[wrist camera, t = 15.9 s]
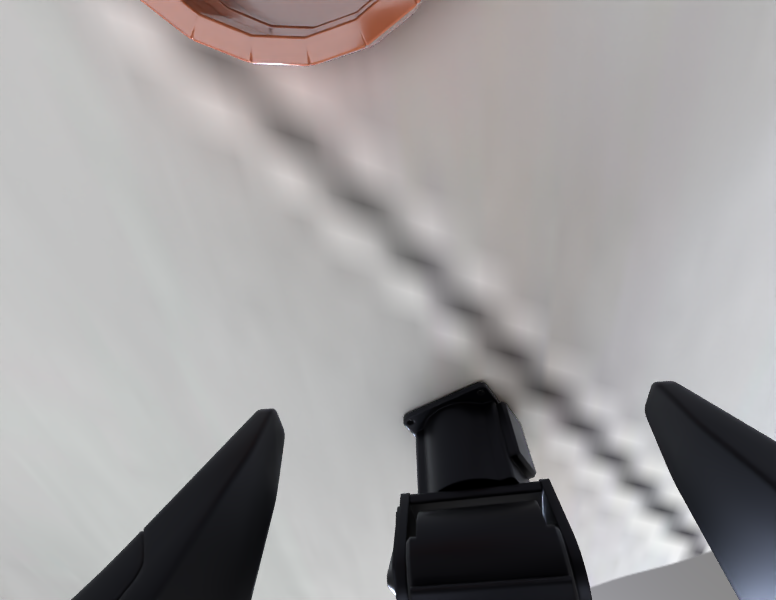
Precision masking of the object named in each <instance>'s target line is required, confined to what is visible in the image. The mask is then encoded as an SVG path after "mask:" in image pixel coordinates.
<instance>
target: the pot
mask: <svg viewBox="0 0 776 600" xmlns="http://www.w3.org/2000/svg"><path fill="white" fill-rule="evenodd" d="M140 1H142V2H143V3H144V4H146V5H147V6H148V7H149V8H151V9H152V10H153V11H155V12H156V13H157V14H158V15H160V16H161V17H162V18H164V19H165V20H166V21H167V22H169V23H170V24H171V25H173V26H174V27H175V28H177V29H178V30H179V31H180V32H182V33H183V34H184V35H186V36H187V37H188V38H189V39H193V40H194V41H195V42H198V43H200V44H203V45H205V46H208V47H210V48H213V49H215V50H218V51H220V52H223V53H226V54H228V55H231V56H233V57H236V58H238V59H241V60H243V61H246V62H248V63H253V64H265V65H290V66H311V65H317V64H320V63H324V62H328V61H331V60H334V59H337V58H340V57H343V56H346V55H349V54H352V53H355V52H358V51H361V50H363V49H366V48H369V47H372V46H374V45H376V44H377V43H378V42H379V41H381V40H382V39H383V38H384V37H386V36H387V35H388V34H389V33H391V32H392V31H393V30H394V29H395V28H397V27H398V26H399V25H400V24H402V23H403V22H404V21H405V20H407V19H408V18H409V17H410V16H411V15H413V13H414V12H415V11H416V10H417V8H418V7H419V5H420V4H421V2H422V1H423V0H140Z"/></svg>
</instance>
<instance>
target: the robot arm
mask: <svg viewBox="0 0 776 600" xmlns="http://www.w3.org/2000/svg"><path fill="white" fill-rule="evenodd" d="M481 389H482V390H481ZM479 390H480V391H479ZM645 414H646V417H647V420H648V422H649V425H650V427H651V429H652V432H653V434H654V436H655V439H656V441H657V444H658V446H659V448H660V451H661V453H662V455H663V458H664V460H665V463H666V465H667V467H668V470H669V472H670V474H671V476H672V478H673V480H674V482H675V484H676V486H677V488H678V490H679V492H680V494H681V495H682V497H683V499H684V501H685V503H686V504H687V506H688V508H689V510H690V512H691V513H692V515H693V517H694V519H695V521H696V523H697V524H698V526H699V528H700V530H701V532H702V533H703V535H704V537H705V539H706V541H707V542H708V544H709V546H710V548H711V550H712V552H713V553H714V555H715V557H716V559H717V561H718V562H719V564H720V566H721V568H722V570H723V571H724V573H725V575H726V577H727V578H728V580H729V582H730V584H731V586H732V587H733V590H734V591H735V593H736V595H737V597H738V599H739V600H776V441H774V440H772V439H771V438H769V437H767V436H766V435H764V434H762V433H761V432H759V431H757V430H756V429H754V428H752V427H751V426H749V425H747V424H745V423H744V422H742V421H740V420H739V419H737V418H735V417H734V416H732V415H730V414H729V413H727V412H725V411H724V410H722V409H720V408H719V407H717V406H715V405H713V404H712V403H710V402H708V401H707V400H705V399H703V398H702V397H700V396H698V395H697V394H695V393H693V392H692V391H690V390H688V389H686V388H685V387H683V386H681V385H680V384H678V383H676V382H673V381H664V382H655V383H653V384H652V386H651V389H650V392H649V395H648V398H647V402H646V405H645ZM410 420H411V421H410ZM404 425H405V426H406V427H407V428H408V429H409V430H410V431H411V432H412V433H413V435H414V436H415V437H416V456H417V480H418V494H411V495H410V493H405V494H401V497H400V507H398V508H397V512H396V527H395V537H394V547H393V553H392V557H391V561H390V565H389V569H388V573H387V584H388V587H389V588H390V589H391V591H392V592H393V593H394V594H395V595H396V600H592V596H591V591H590V585H589V581H588V577H587V573H586V569H585V565H584V562H583V559H582V555H581V552H580V549H579V547H578V544H577V541H576V539H575V536H574V534H573V531H572V529H571V527H570V525H569V522H568V520H567V518H566V516H565V514H564V511H563V509H562V507H561V505H560V502H559V500H558V498H557V496H556V493H555V491H554V489H553V487H552V484H551V482H550V480H549V479H540V480H539V481H537V482H530V481H529V479H530V478H533V477H535V474H536V470H535V467H534V464H533V461H532V458H531V455H530V451H529V448H528V445H527V442H526V439H525V436H524V433H523V429H522V426H521V423H520V422H519V421H518V419H517V418H516V416H515V415H514V414H513V412H512V411H511V410H510V408H509V407H508V406H507V404H506V403H504V402H499V401H498V399H497V398H496V397H495V395H494V394H493V392H492V391H491V390H490V388H489V387H488V386H487V385H486V384H485V383H483V382H479V383H476V384H474V385H471V386H469V387H467V388H465V389H462V390H460V391H458V392H455V393H453V394H451V395H449V396H446V397H444V398H442V399H440V400H437V401H435V402H433V403H431V404H428V405H426V406H424V407H421V408H419V409H417V410H415V411H412V412H410V413H408V414H406V415H405V416H404ZM284 439H285V434H284V429H283V426H282V424H281V421H280V419H279V416H278V414H277V412H276V410H275V409H261V410H258V411H257V412H255V414H254V415H253V416H252V417H251V418H250V419H249V420H248V421H247V422H246V423H245V424H244V425H243V426H242V427H241V428H240V429H239V430H238V431H237V432H236V433H235V434H234V435H233V436H232V437H231V438H230V439H229V441H228V442H227V443H226V444H225V445H224V446H223V447H222V448H221V449H220V450H219V451H218V452H217V453H216V454H215V455H214V456H213V457H212V458H211V459H210V460H209V461H208V462H207V463H206V464H205V465H204V466H203V468H202V469H201V470H200V471H199V472H198V473H197V474H196V475H195V476H194V477H193V478H192V479H191V480H190V481H189V482H188V483H187V484H186V485H185V486H184V487H183V488H182V489H181V490H180V491H179V492H178V493H177V495H176V496H175V497H174V498H173V499H172V500H171V501H170V502H169V503H168V504H167V505H166V506H165V507H164V508H163V509H162V510H161V511H160V512H159V513H158V514H157V515H156V516H155V517H154V518H153V519H152V520H151V522H150V523H149V524H148V525H147V526H146V527H145V528H144V532H143V531H141V532H140V533H139V534H138V535H137V536H136V537H135V538H134V539H133V540H132V541H131V542H130V543H129V544H128V545H127V546H126V547H125V548H124V549H123V550H122V551H121V552H120V553H119V554H118V555H117V556H116V557H115V558H114V559H113V560H112V561H111V562H110V563H109V564H108V565H107V566H106V567H105V568H104V569H103V570H102V571H101V572H100V573H99V574H98V575H97V576H96V577H95V578H94V579H93V580H92V581H91V582H90V583H89V584H87V585H86V586H85V587H84V588H83V589H82V590H81V591H80V592H79V593H78V594H77V595H76V596H75V597H74V598H73V599H71V600H251V598H252V594H253V590H254V586H255V582H256V578H257V574H258V570H259V566H260V562H261V558H262V554H263V550H264V546H265V542H266V538H267V534H268V530H269V526H270V522H271V518H272V514H273V510H274V506H275V501H276V496H277V490H278V483H279V476H280V468H281V461H282V454H283V447H284Z"/></svg>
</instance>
